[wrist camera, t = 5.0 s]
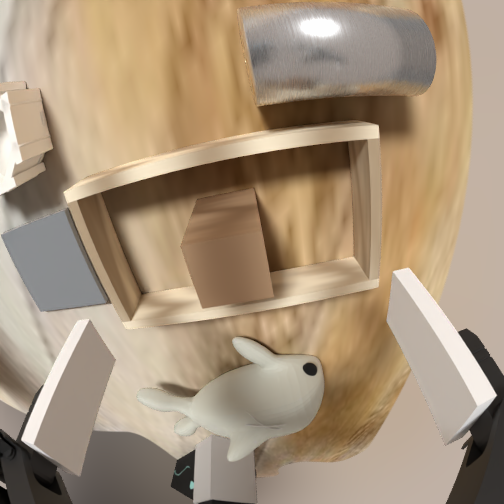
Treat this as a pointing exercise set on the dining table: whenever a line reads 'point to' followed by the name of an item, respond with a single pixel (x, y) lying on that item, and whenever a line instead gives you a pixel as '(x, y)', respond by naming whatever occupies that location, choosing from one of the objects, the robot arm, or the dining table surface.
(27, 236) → the slate coaster
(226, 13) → the dining table surface
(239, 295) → the walnut block
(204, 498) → the decorative object
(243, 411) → the toy
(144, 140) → the dining table surface
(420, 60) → the lying tin can
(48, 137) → the ramekin
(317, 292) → the birch crate
